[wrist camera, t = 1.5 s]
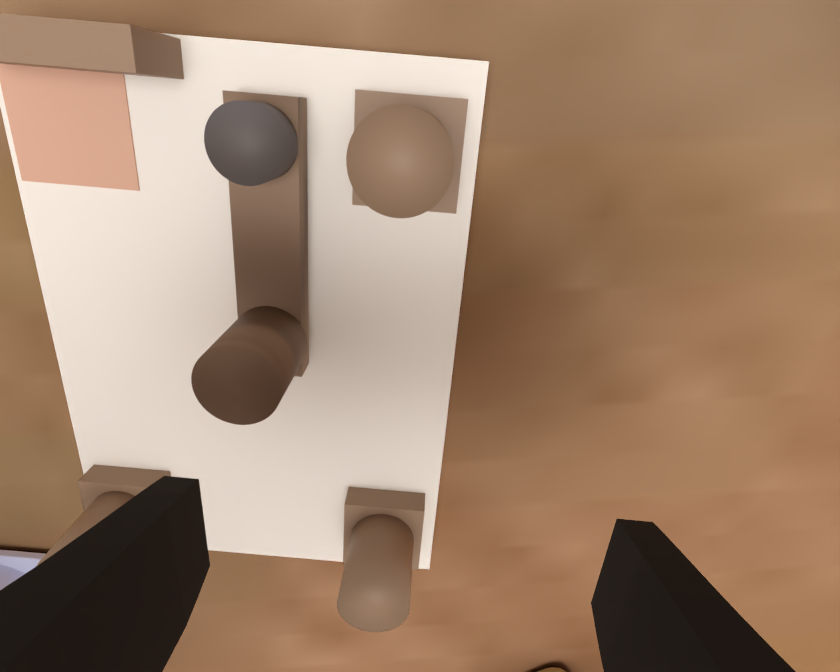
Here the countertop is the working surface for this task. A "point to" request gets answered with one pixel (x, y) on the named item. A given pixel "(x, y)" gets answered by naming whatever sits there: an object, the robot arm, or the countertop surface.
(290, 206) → the hinged leg
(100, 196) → the white board with posts
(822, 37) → the countertop surface
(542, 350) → the countertop surface
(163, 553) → the robot arm
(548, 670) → the cheese
